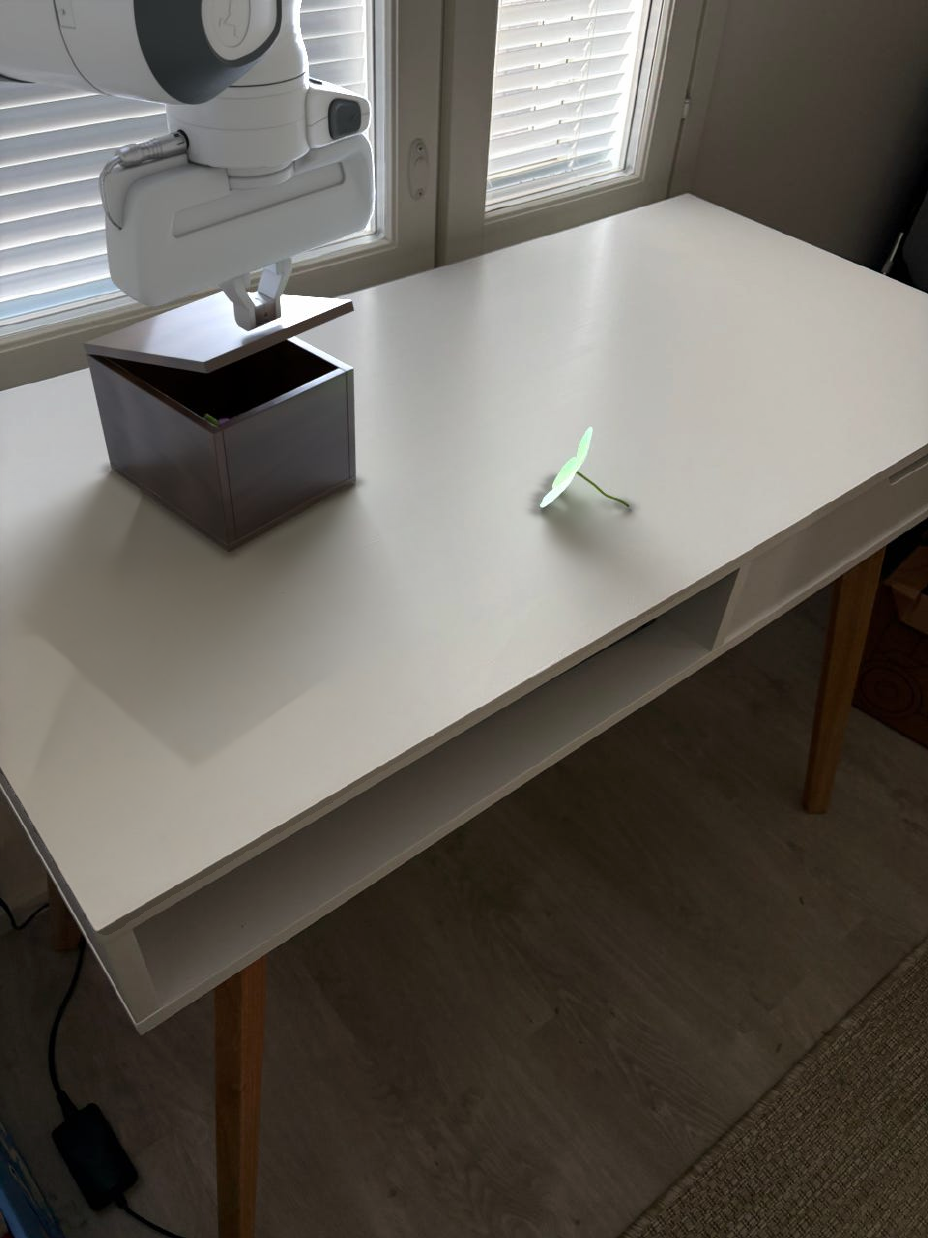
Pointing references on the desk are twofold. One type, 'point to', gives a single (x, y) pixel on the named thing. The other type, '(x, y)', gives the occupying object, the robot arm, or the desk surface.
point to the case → (232, 436)
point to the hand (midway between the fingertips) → (258, 322)
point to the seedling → (573, 472)
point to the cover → (212, 333)
